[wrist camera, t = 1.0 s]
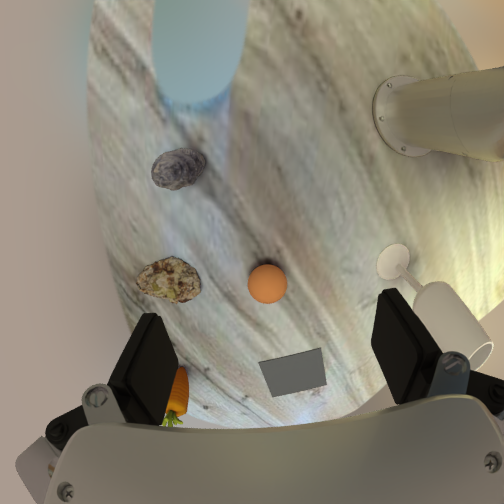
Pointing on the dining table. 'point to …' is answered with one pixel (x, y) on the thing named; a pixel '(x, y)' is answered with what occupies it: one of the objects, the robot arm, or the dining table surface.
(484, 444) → the robot arm
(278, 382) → the slate mark
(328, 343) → the dining table surface
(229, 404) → the dining table surface
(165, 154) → the seashell
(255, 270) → the ball
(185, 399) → the carrot
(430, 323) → the champagne flute
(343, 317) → the dining table surface
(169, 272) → the mineral rock
